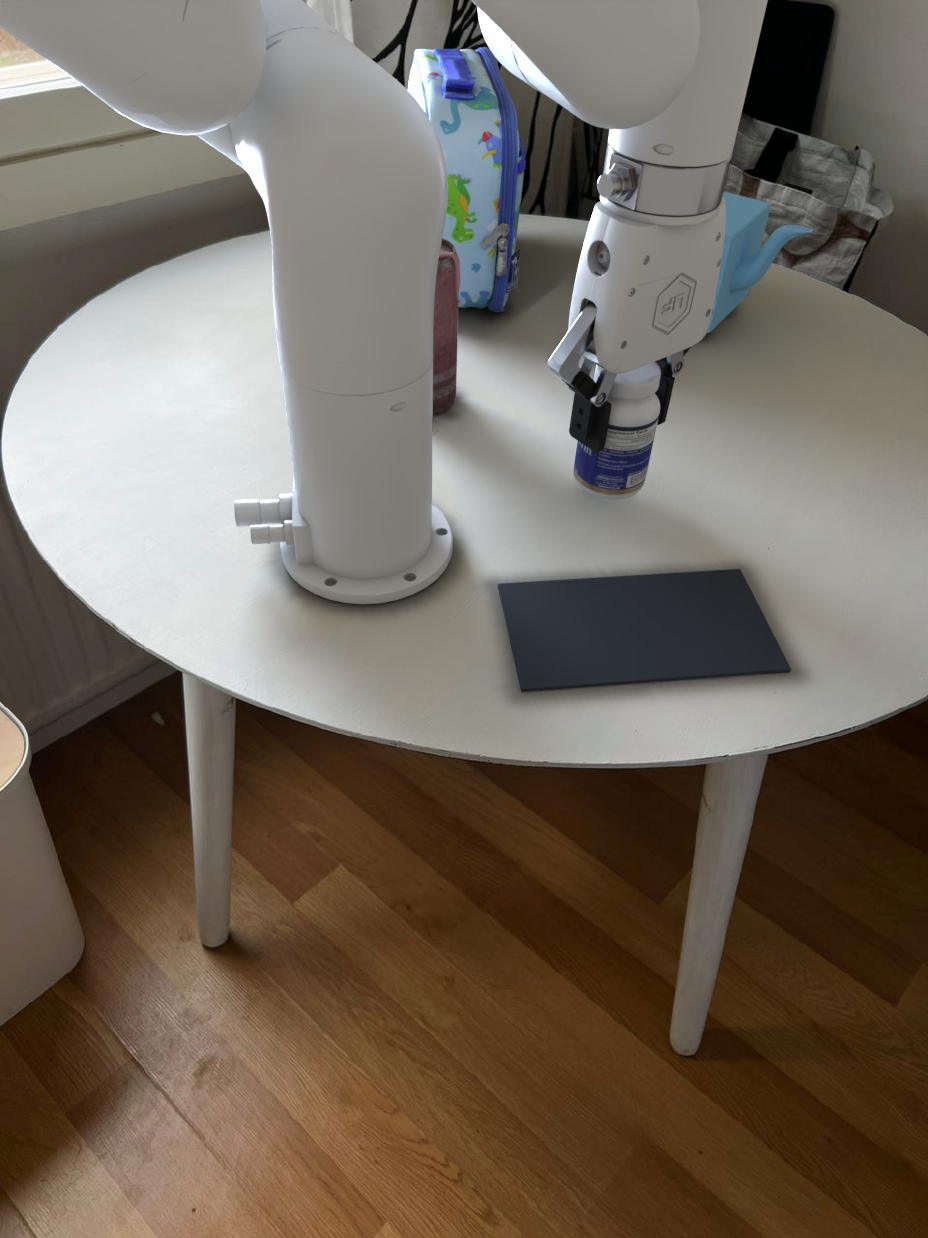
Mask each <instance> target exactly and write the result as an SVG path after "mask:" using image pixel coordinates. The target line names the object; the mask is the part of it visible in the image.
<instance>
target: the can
mask: <svg viewBox="0 0 928 1238" xmlns="http://www.w3.org/2000/svg"><path fill="white" fill-rule="evenodd" d="M459 287H460V261H459V258H458V255H457V253H456V251H455V247H454V245H453V244H452V243H451V242H449V241H447V240H445V239H443V238H442V243H441V248H440V254H439V259H438V267H437V274H436V284H435V297H434V321H433V418H434V417H439V416H440V415H444V414H445V413H446V412H448V411H449V410H450V408H451V407H452V406H453V405H454V403H455V401H456V398H457V377H458V376H457V373H458V372H457V371H458V370H457V367H458V337H459V336H458V334H459V307H458V302H459Z"/></svg>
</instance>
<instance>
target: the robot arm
mask: <svg viewBox="0 0 928 1238" xmlns="http://www.w3.org/2000/svg"><path fill="white" fill-rule="evenodd" d="M470 2H472V3H473V4H474V5H475V6H476V7H477V18H478V23H479V27H480V30H481V31H480V32H481V33H482V36H483V39H484V41H485V43H486V45H487V48H488V49H490V50H491V52H492V53H493V55H494V56H495V58H496V61H497V62H499V63H500V64H501V65H502V67H504V68H505V69H506V70H507V71H508V72H509V73H511V74H512V75H514V77H517V78H518V79H519V80H521V81H523V82H524V83H526V84H527V85H529V86H530V87H531V88H533V89H534V90H536V91H537V92H538V93H541V94H543V95H544V96H546V97H547V98H549V99H550V100H552V101H554V102H555V103H557V105H560V106H561V107H562V108H564V109H565V110H567V111H568V112H570V113H571V114H573V116H576V117H577V118H578V119H579V120H581V121H583V122H585V123H587V124H589V125H591V126H594V127H596V128H602V129H607V130H608V137H607V142H606V149H605V157H604V165H603V171H602V174H601V175H600V176H599V177H598V179H597V182H596V187H597V188H596V189H597V191H598V194H599V200H600V201H598V202H595V204H594V207H593V211H592V214H591V217H590V220H589V222H588V226H587V230H586V233H585V237H584V241H583V244H582V245H583V246H582V247H581V248H582V249H581V252H580V256H579V261H578V266H577V268H576V269H577V270H576V275H575V280H574V284H573V291H572V296H571V303H570V309H569V316H568V327H567V332H566V334H565V335H564V337H563V338H562V340H561V341H560V343H559V344H558V346H557V347H556V348H555V350H554V351H553V353H552V354H551V356H550V357H549V359H548V361H547V367H548V369H549V370H550V371H552V372H553V373H554V374H555V375H556V376H557V377H559V378H560V379H561V381H562V382H563V383H564V384H565V385H566V386H567V387H568V389H569V390H570V391H571V392H573V393H574V394H573V401H572V408H571V414H570V422H569V428H568V432H569V435H570V437H572V438H573V439H574V440H575V441H577V442H578V441H579V442H580V443H582V444H583V445H585V446H586V447H588V448H589V449H591V450H592V451H594V452H596V453H597V452H599V451H601V450H603V449H604V446H605V441H606V436H607V430H608V425H609V419H610V413H611V405H612V404H610V403H609V402H608V401H606V399H607V397H608V395H609V392H610V390H611V388H612V385H613V383H614V380H615V378H616V376H617V374H622V373H626V372H629V371H632V370H634V369H637V368H639V367H642V366H645V365H647V364H650V363H652V362H656V363H657V364H658V366H659V367H660V370H661V376H660V382H659V387H658V390H657V391H656V392H655V394H656V395H657V397H658V399H659V402H660V414H659V419H658V423H657V426H659V425H662V424H664V423H665V422H666V421H667V416H668V413H669V412H668V411H669V408H670V404H671V399H672V394H673V390H674V386H675V380H676V377H675V376H677V375H679V374H680V373H681V372H682V370H683V368H684V366H685V356H686V355H687V353H688V352H689V350H690V349H691V348H692V347H693V346H695V345H697V344H698V343H700V341H702V340H703V339H704V338H705V336H706V334H708V332H707V330H708V327H709V323H710V319H711V316H712V314H713V306H714V301H715V296H716V291H717V286H718V280H719V274H720V268H721V262H722V255H723V248H724V238H725V224H726V201H725V199H724V198H723V192H725V188H726V183H727V179H728V174H729V170H730V167H731V166H730V165H731V163H732V162H731V161H732V157H733V152H734V146H735V143H736V137H737V134H738V129H739V126H740V121H741V117H742V113H743V109H744V104H745V101H746V100H745V99H746V96H747V91H748V87H749V83H750V79H751V74H752V70H753V66H754V62H755V57H756V53H757V49H758V44H759V39H760V35H761V32H762V26H763V22H764V19H765V13H766V9H767V5H768V2H769V0H470ZM0 29H2V30H3V31H5V32H6V33H7V34H9V35H10V36H11V37H14V39H16V40H18V41H19V42H21V44H24V46H26V47H28V48H29V49H31V50H32V51H33V52H35V53H36V54H38V55H39V56H41V57H42V58H43V59H45V60H46V61H47V62H49V63H50V64H52V65H53V66H55V67H56V68H58V69H59V70H61V71H62V72H63V73H65V74H66V75H67V76H69V77H71V78H72V79H73V80H74V81H75V82H77V83H78V84H79V85H81V86H82V87H84V88H85V89H87V90H88V92H91V93H92V94H93V95H94V96H96V97H97V98H98V99H100V100H101V101H102V102H103V103H105V105H107V106H108V107H110V108H111V109H113V111H115V112H116V113H118V114H120V115H122V116H123V117H126V118H127V119H129V120H131V121H133V122H134V123H136V124H138V125H140V126H143V127H146V128H148V129H151V130H155V131H158V132H160V133H164V134H170V135H171V134H172V135H181V136H196V137H198V138H199V139H200V140H202V141H204V142H205V143H206V144H208V145H209V146H210V147H212V148H213V149H215V150H216V151H218V152H219V153H220V154H222V155H223V156H225V157H226V158H227V159H229V160H231V161H232V162H233V163H234V164H236V165H237V166H239V167H240V168H241V169H242V170H244V171H245V172H246V173H247V175H248V176H249V178H250V180H251V182H252V184H253V186H254V188H255V189H256V191H257V193H258V194H259V196H260V198H261V199H262V202H263V205H264V207H265V211H266V212H265V213H266V217H267V221H268V228H269V233H270V234H269V235H270V243H271V244H270V245H271V260H272V261H271V262H272V263H271V264H272V268H271V269H272V271H271V272H272V273H271V274H272V276H271V277H272V279H271V280H272V304H273V314H274V315H273V316H274V317H273V318H274V325H275V326H274V327H275V328H274V329H275V336H276V337H275V339H276V347H277V353H278V362H279V366H280V373H281V378H282V379H281V381H282V389H283V398H284V403H285V404H284V406H285V413H286V422H287V430H288V438H289V447H290V455H291V463H292V473H293V479H292V492H289V493H280V494H279V495H278V498H277V499H276V498H275V499H261V498H256V499H255V498H253V499H235V500H234V503H233V510H234V520H235V526H236V527H237V528H241V527H242V528H243V527H249V529H250V542H251V544H252V545H266V544H267V545H268V544H272V543H279V546H280V553H281V559H282V563H283V565H284V569H285V570H286V571H287V573H288V575H290V577H291V579H293V580H294V581H295V582H296V583H297V584H298V585H300V586H301V587H302V588H303V589H305V590H306V591H309V592H311V593H312V594H314V595H316V596H318V597H322V598H325V599H327V600H329V601H335V602H339V603H344V604H355V605H373V604H384V603H389V602H393V601H398V600H401V599H405V598H407V597H410V596H413V595H414V594H417V593H419V592H421V591H423V590H424V589H427V587H429V586H430V585H431V584H433V583H434V582H435V581H437V580H438V579H439V578H440V576H441V575H442V574H443V573H444V572H445V571H446V569H447V567H448V565H449V563H450V561H451V560H452V555H453V550H454V534H453V529H452V526H451V523H450V521H449V520H448V518H447V516H446V515H445V514H444V513H443V511H441V509H440V508H439V507H438V506H436V505H435V504H434V503H433V425H434V424H433V421H434V420H433V418H434V417H433V321H434V297H435V284H436V274H437V267H438V259H439V254H440V248H441V243H442V237H443V231H444V225H445V219H446V211H447V200H448V181H447V171H446V164H445V159H444V155H443V151H442V148H441V145H440V142H439V139H438V136H437V134H436V132H435V130H434V128H433V126H432V124H431V122H430V120H429V118H428V116H427V114H426V113H425V112H424V110H423V109H422V107H421V106H420V104H419V103H418V102H417V100H416V99H415V98H414V97H413V96H412V95H411V93H410V92H409V91H408V88H406V86H404V85H403V84H402V83H401V82H400V81H398V79H397V78H395V77H394V76H393V75H391V73H389V72H388V71H387V70H386V69H385V68H384V67H382V66H381V65H380V64H378V63H377V62H376V61H374V60H373V59H372V58H370V56H368V55H367V54H366V53H364V52H363V51H362V50H361V49H360V48H359V47H357V46H356V45H355V44H354V43H352V42H351V41H350V40H349V39H348V38H346V36H344V35H343V34H342V33H341V32H340V31H338V30H337V29H336V28H335V27H334V26H332V25H331V24H330V23H329V22H328V21H326V20H325V19H324V18H323V17H322V16H321V15H320V14H318V13H317V12H316V11H315V10H314V9H313V8H311V7H310V6H309V5H308V4H307V3H306V2H305V1H303V0H0ZM596 364H597V365H598V366H600V367H602V370H601V372H600V374H599V377H598V379H597V382H596V383H595V382H594V378H592V377H591V376H590V374H591V372H592V370H593V367H594V365H596Z"/></svg>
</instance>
